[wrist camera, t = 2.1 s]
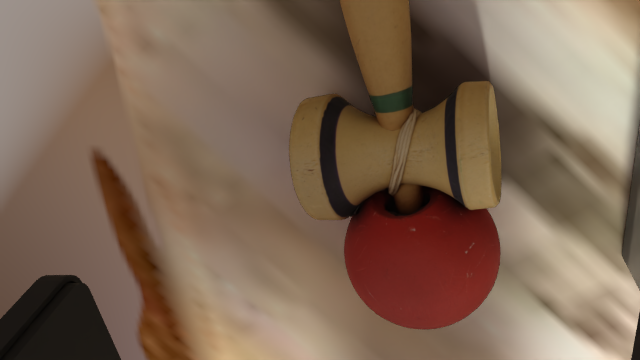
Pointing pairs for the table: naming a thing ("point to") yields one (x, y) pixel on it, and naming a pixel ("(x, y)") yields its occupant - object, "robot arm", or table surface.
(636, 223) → the cradle tray
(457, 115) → the kendama
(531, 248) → the table surface
